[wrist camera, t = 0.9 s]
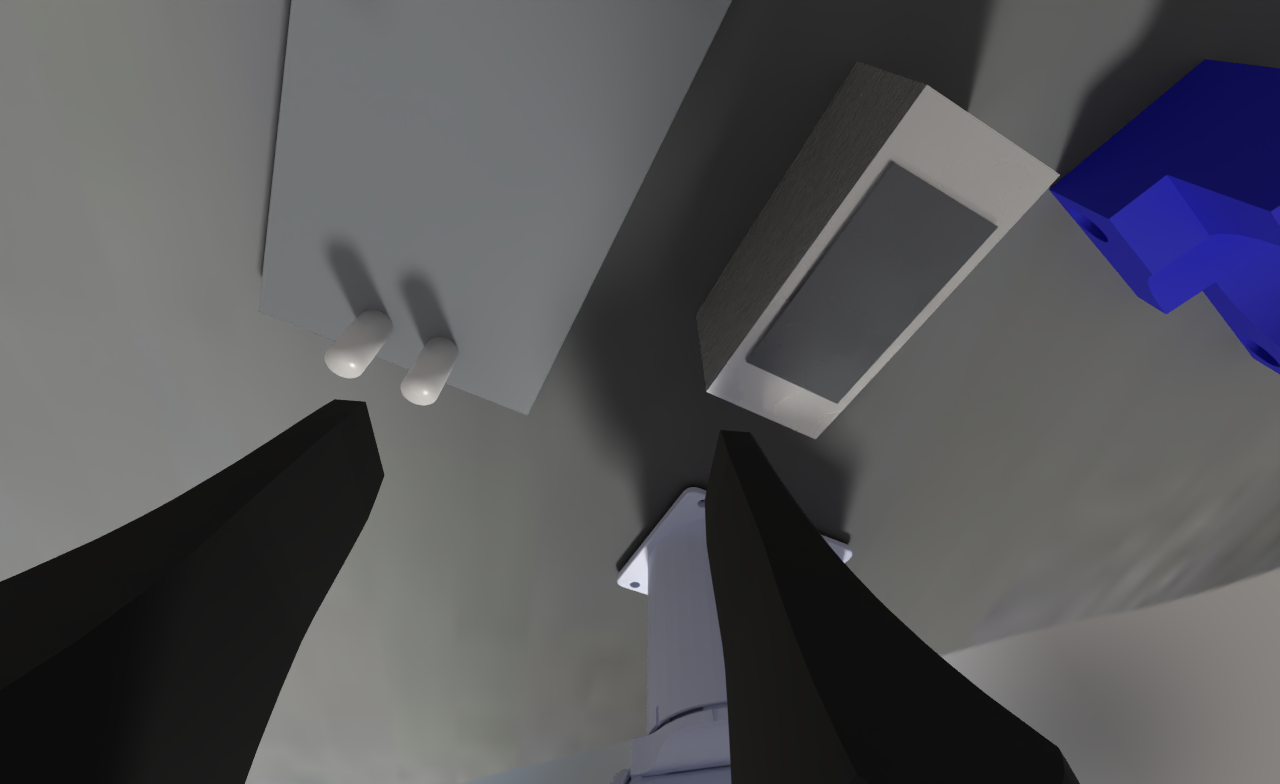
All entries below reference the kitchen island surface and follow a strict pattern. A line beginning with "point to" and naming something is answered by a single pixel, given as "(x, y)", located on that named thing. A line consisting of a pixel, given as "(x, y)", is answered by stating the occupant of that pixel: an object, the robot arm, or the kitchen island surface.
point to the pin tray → (464, 175)
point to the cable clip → (1194, 199)
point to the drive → (859, 247)
